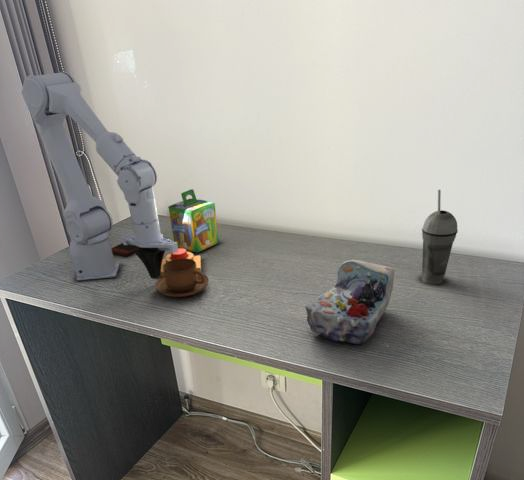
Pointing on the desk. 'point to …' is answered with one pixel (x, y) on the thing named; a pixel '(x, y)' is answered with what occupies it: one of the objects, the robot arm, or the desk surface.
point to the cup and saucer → (181, 279)
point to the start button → (179, 254)
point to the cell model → (352, 302)
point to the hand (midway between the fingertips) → (155, 276)
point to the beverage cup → (437, 244)
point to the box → (189, 256)
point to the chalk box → (194, 223)
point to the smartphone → (124, 249)
